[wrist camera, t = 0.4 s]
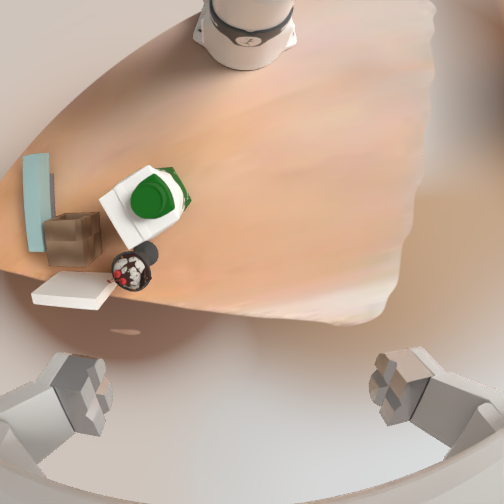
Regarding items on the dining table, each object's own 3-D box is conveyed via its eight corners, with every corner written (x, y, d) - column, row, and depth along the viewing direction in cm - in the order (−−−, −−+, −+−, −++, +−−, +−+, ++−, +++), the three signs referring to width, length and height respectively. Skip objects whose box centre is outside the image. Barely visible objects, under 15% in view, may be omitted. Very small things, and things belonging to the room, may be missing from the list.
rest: (42, 174, 47) (36, 175, 44) (53, 173, 47) (47, 174, 45) (45, 223, 50) (38, 226, 47) (56, 223, 50) (50, 226, 47)
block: (64, 213, 49) (43, 221, 42) (98, 212, 50) (80, 220, 42) (68, 252, 51) (49, 265, 44) (102, 253, 52) (85, 267, 45)
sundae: (123, 245, 53) (92, 273, 38) (152, 230, 52) (127, 254, 38) (139, 275, 55) (115, 311, 40) (168, 261, 54) (151, 294, 40)
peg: (34, 155, 43) (22, 155, 39) (49, 153, 44) (38, 153, 40) (39, 246, 48) (29, 251, 44) (54, 246, 49) (44, 252, 45)
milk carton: (198, 202, 52) (184, 224, 33) (156, 227, 52) (121, 262, 33) (174, 159, 49) (145, 157, 30) (132, 186, 50) (84, 200, 31)
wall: (60, 270, 53) (30, 293, 41) (118, 272, 54) (95, 298, 42) (61, 279, 53) (33, 303, 42) (119, 282, 55) (97, 310, 43)
